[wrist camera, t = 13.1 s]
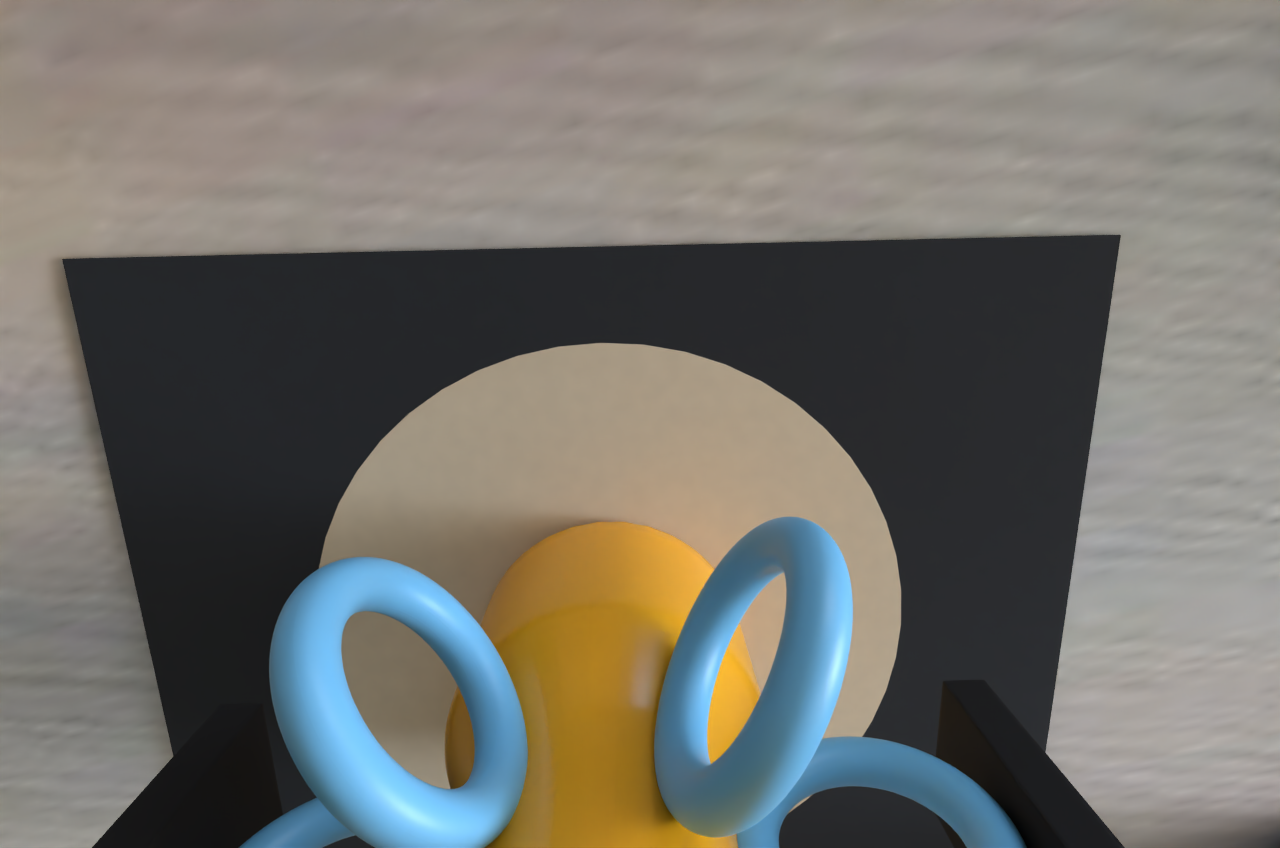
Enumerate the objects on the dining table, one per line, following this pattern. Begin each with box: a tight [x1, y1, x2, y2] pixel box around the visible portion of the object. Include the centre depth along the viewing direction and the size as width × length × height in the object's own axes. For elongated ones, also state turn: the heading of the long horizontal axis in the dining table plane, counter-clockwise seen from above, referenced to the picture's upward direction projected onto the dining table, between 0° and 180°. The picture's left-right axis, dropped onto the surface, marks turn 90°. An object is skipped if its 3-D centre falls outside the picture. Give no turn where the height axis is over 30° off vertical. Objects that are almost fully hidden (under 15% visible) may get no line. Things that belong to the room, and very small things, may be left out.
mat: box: [62, 235, 1121, 848], centre depth 17 cm, size 22×18×1 cm
